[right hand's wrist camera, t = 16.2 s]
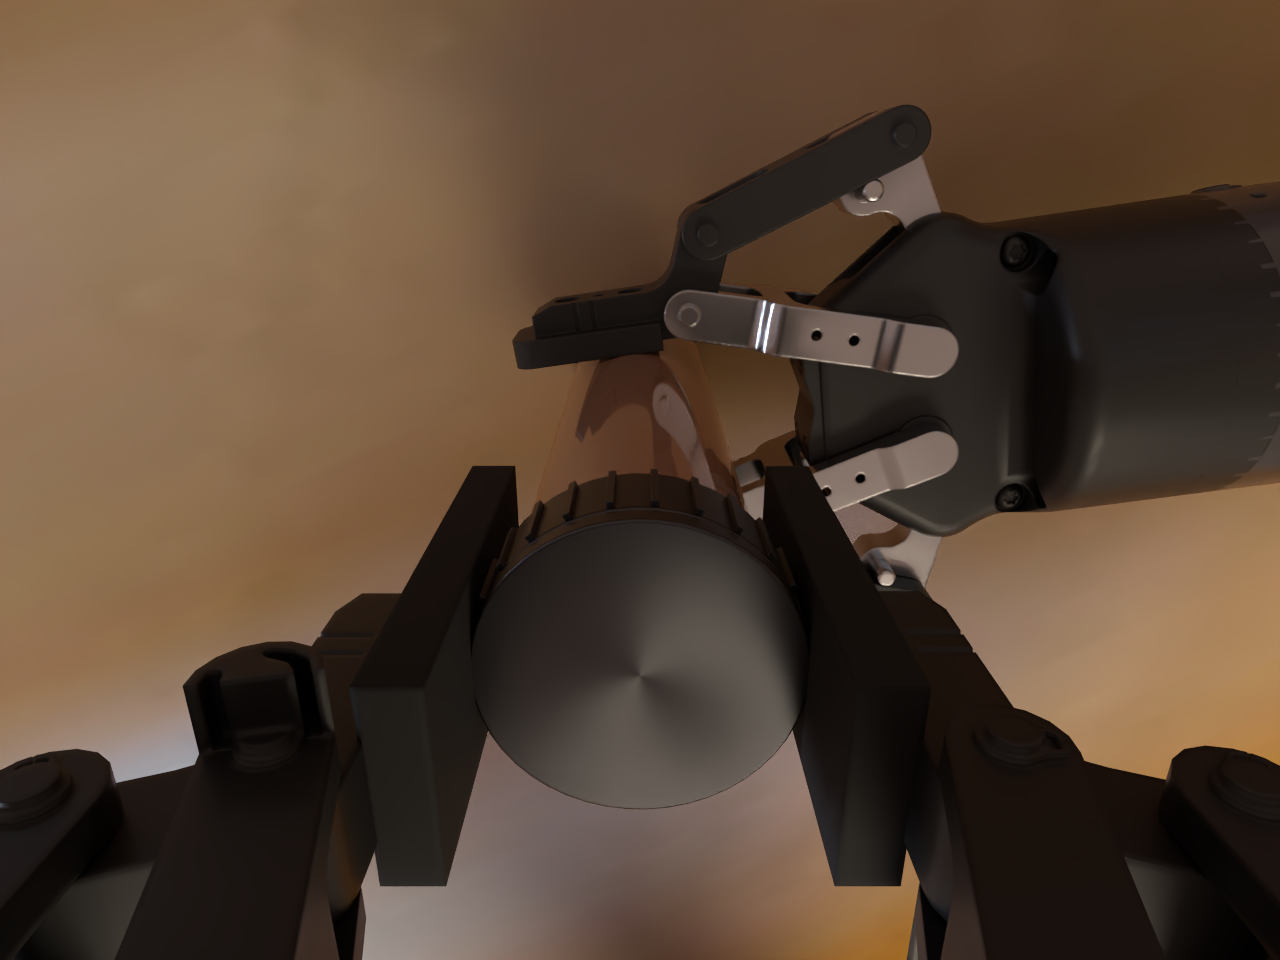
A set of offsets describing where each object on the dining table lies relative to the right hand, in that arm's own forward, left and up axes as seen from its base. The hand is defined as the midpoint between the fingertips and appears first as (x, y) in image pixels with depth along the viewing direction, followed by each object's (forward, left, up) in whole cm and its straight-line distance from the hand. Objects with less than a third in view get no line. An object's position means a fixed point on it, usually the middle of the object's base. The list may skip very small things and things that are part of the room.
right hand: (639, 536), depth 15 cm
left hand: (-1, -3, -7) cm, 8 cm away
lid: (0, 0, +4) cm, 4 cm away
